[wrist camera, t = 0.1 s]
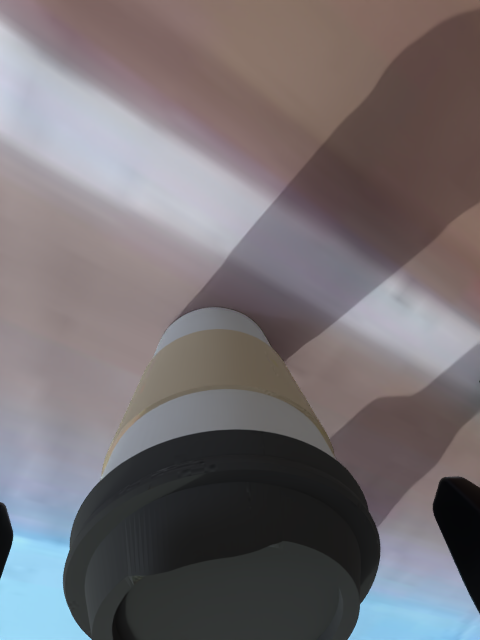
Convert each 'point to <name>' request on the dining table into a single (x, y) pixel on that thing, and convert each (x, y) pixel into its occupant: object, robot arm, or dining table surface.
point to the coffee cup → (220, 504)
